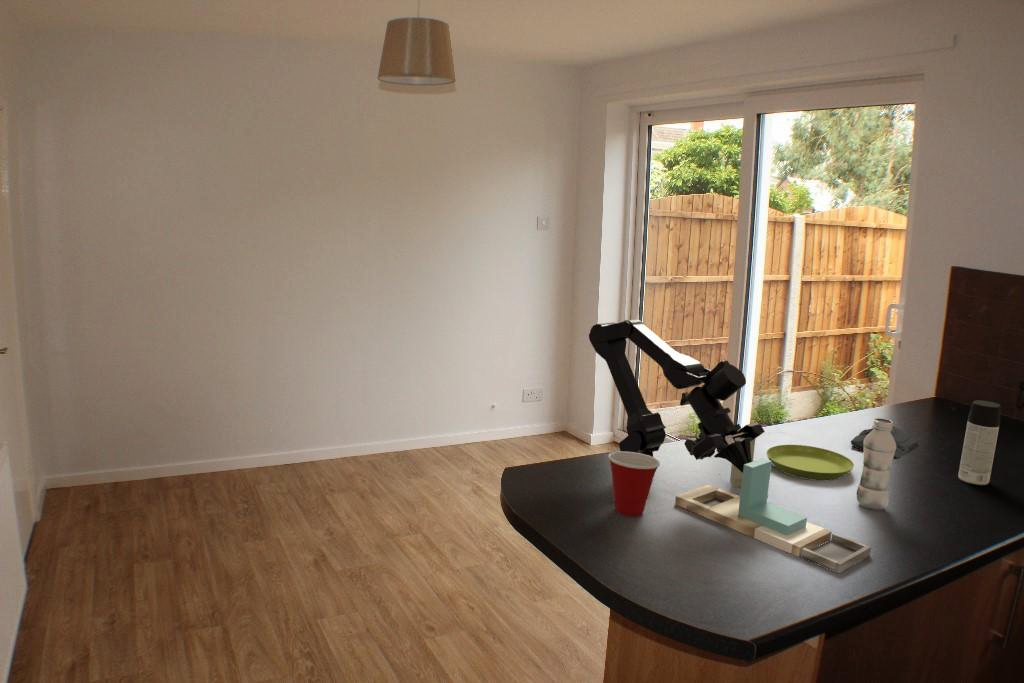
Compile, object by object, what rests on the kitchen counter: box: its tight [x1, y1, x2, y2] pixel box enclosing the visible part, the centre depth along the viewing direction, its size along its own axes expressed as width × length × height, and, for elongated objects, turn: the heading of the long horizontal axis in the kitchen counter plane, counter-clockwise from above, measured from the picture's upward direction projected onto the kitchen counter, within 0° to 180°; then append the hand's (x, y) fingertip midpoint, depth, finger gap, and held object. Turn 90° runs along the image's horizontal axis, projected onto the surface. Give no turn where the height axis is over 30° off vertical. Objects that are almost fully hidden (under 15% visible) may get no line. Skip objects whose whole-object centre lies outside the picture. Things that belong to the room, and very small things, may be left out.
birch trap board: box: [674, 484, 872, 574], centre depth 151 cm, size 37×12×2 cm, turn 40°
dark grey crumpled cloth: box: [850, 425, 920, 460], centre depth 210 cm, size 15×22×5 cm
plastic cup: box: [608, 451, 661, 518], centre depth 155 cm, size 11×11×12 cm
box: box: [729, 429, 756, 488], centre depth 173 cm, size 5×4×13 cm
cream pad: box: [753, 521, 825, 554], centre depth 147 cm, size 8×12×2 cm, turn 129°
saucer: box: [765, 444, 855, 481], centre depth 187 cm, size 21×21×3 cm
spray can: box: [957, 399, 1002, 486], centre depth 182 cm, size 7×7×20 cm
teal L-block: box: [738, 457, 808, 535], centre depth 149 cm, size 11×7×11 cm, turn 40°
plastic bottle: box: [856, 417, 896, 511], centre depth 163 cm, size 6×7×20 cm
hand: (750, 476), depth 153 cm, fingers closed, pressing on teal L-block
